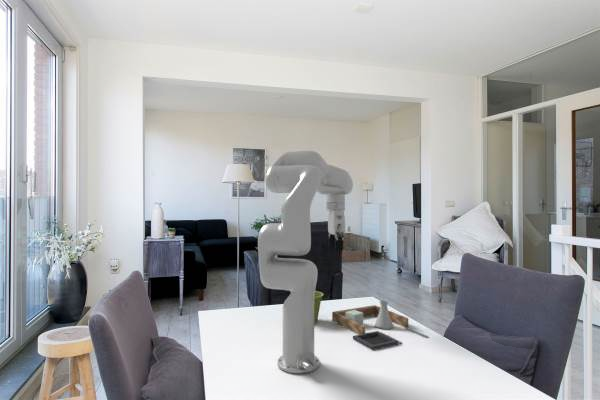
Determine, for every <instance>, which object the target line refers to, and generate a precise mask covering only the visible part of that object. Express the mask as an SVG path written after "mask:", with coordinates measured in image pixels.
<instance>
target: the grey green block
mask: <svg viewBox="0 0 600 400" xmlns="http://www.w3.org/2000/svg"><path fill="white" fill-rule="evenodd" d="M345 317H347V318H349V319H351V320H353V321H355V322H357V323H359V324H361V325H363V326H364V317H363V313H362V312H359V311H356V310H352V311H348V312H345Z"/></svg>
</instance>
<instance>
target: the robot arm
mask: <svg viewBox="0 0 600 400" xmlns="http://www.w3.org/2000/svg"><path fill="white" fill-rule="evenodd" d="M266 171H267V172H266V173H265V174H266V175H265V185H266V188H267V189H268V190H269V192H272V193H274V194H288V195H287V196H286V198H285V199H284V200H283V203H282V204H281V208H280V213H281V215H280V216H281V218H280V219H281V221H280V222H277V223H276V222H270V223H266V224H264V225H263V226H262V227H261V228H260V230H259V233H258V238H257V251H258V252H257V253H258V267H259V277H260V278H259V279H260V282H261V284H262V285H263V287H264V288H266V289H271V290H280V291H287V292H288V291H289V292H290V294H289V296H287V298H286V299H285V300H284V302H283V305H282V355H281V356H279V358H278V359H277V367H278V368H279V370H281V371H283V372H286V373H290V374H307V373H311V372H313V371H315V370H317V369H318V368H319V366H320V358H318V357H317V356H316V355H315V323H314V300H315V291H316V287H317V281H318V273H319V272H318V268H317V265H316V264H315V263H314V262H312V261H311V260H309V259H304V258H286V257H285V258H284V257H278V256H297V257H299V256H305V255H307V254H308V253H309V252H310V251H311V246H312V234H311V233H312V232H311V206H312V202H313V201H314V198H315V196H316V193H317V192H318V193H319V194H320V195H325V196H326V211H327V212H328V216H327V231H328V247H329V248H334V249H335V251H344V235H345V234H346V217H345V211H346V195H349V194H351V192H352V190H353V187H354V186H353V185H354V183H353V179H352V176H351V175H350V174H349V172H348V171H347V170H345V169H343V168H340V167H338V166H334V165H331V164H328V163H327V162H326V160H325V159H324V158H323V157H322V155H320V153H319V152H317V151H314V150H298V151H297V150H296V151H295V150H294V151H286V152H284V153H283V154H281V155H280V156H279V157H278V158H277V159H276V160H275V161H274V162H273V163H272V164H271V165H270V167H269V168H268V169H267V170H266Z"/></svg>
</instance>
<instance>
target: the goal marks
mask: <svg viewBox="0 0 600 400" xmlns="http://www.w3.org/2000/svg"><path fill="white" fill-rule="evenodd" d="M404 329H405V330H407V331H409V332H411V333H414V334H416V335H419V336H420V337H424V338H426V339H428V338H429V335H426V334H424V333H422V332H419V331H416V330H415V329H412V328H410V327H409V326H408V327H404ZM380 332H381V333H383V334H385V335H387V334H386V333H384V332H382V331H380ZM387 336H389V337H391V338H393V339H395V340H397V341H398V345H402V344H403V341H400V340H398V339H396V338H394V337H392V336H390V335H387Z"/></svg>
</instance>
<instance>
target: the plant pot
mask: <svg viewBox="0 0 600 400" xmlns="http://www.w3.org/2000/svg"><path fill="white" fill-rule="evenodd" d="M323 296H324V293H323V292H321V291H317V290H315V300H314V324H316V323H317V322H318V321H319V319H318V318H319V312H320V308H321V302H322V299H323Z"/></svg>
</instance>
